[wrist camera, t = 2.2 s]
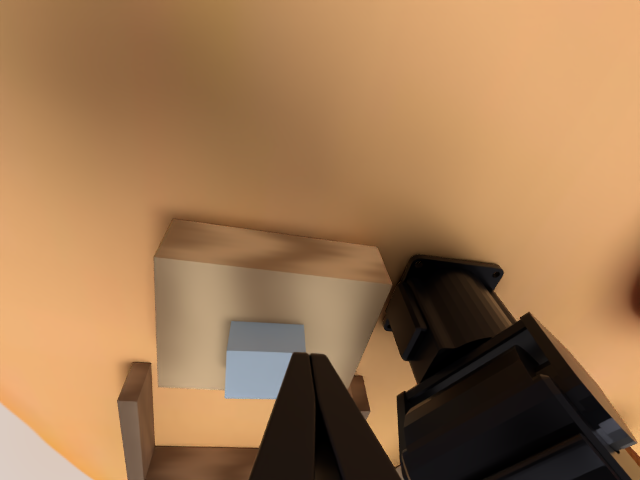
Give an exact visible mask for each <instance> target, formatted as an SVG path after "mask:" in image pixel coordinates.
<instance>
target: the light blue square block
mask: <svg viewBox="0 0 640 480" xmlns="http://www.w3.org/2000/svg"><path fill="white" fill-rule="evenodd" d="M293 352H306V347H305V333H304V325H299V324H279V323H260V322H240V321H231V326H230V333H229V339H228V345H227V355H226V378H225V398H235V399H276V398H277V395H278V393H279V390H280V387H281V384H282V381H283V378H284V375H285V373H286V370H287V367H288V364H289V361H290V358H291V356H292V353H293Z"/></svg>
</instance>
